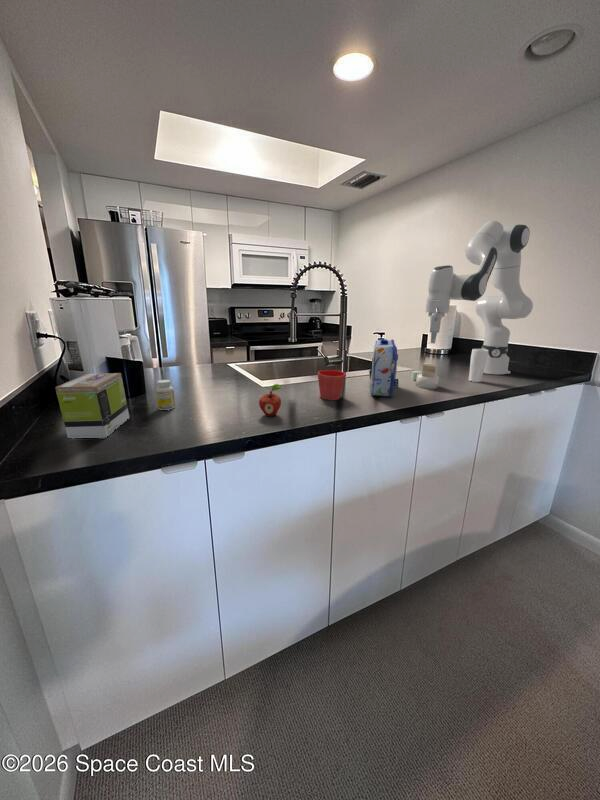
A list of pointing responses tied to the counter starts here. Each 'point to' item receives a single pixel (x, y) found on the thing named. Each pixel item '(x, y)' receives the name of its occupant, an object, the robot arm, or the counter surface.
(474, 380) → the white tall block
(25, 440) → the counter surface
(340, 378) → the flower pot
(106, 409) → the tea box
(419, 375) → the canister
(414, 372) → the sage block
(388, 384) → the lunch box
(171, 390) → the supplement bottle
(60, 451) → the counter surface
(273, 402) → the apple
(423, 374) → the maple cube
